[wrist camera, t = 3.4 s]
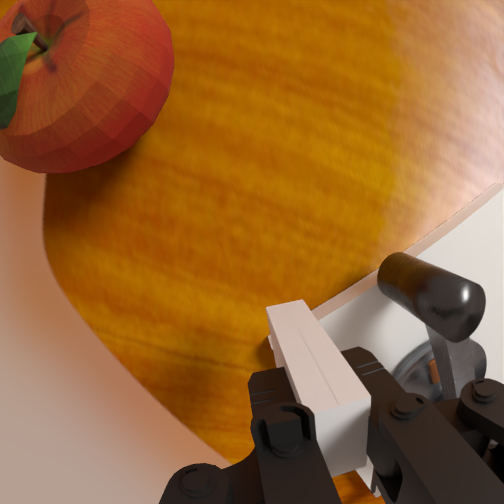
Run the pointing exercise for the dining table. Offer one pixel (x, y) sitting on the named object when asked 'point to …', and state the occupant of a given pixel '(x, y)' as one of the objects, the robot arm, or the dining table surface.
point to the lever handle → (437, 326)
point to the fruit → (80, 80)
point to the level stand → (407, 325)
